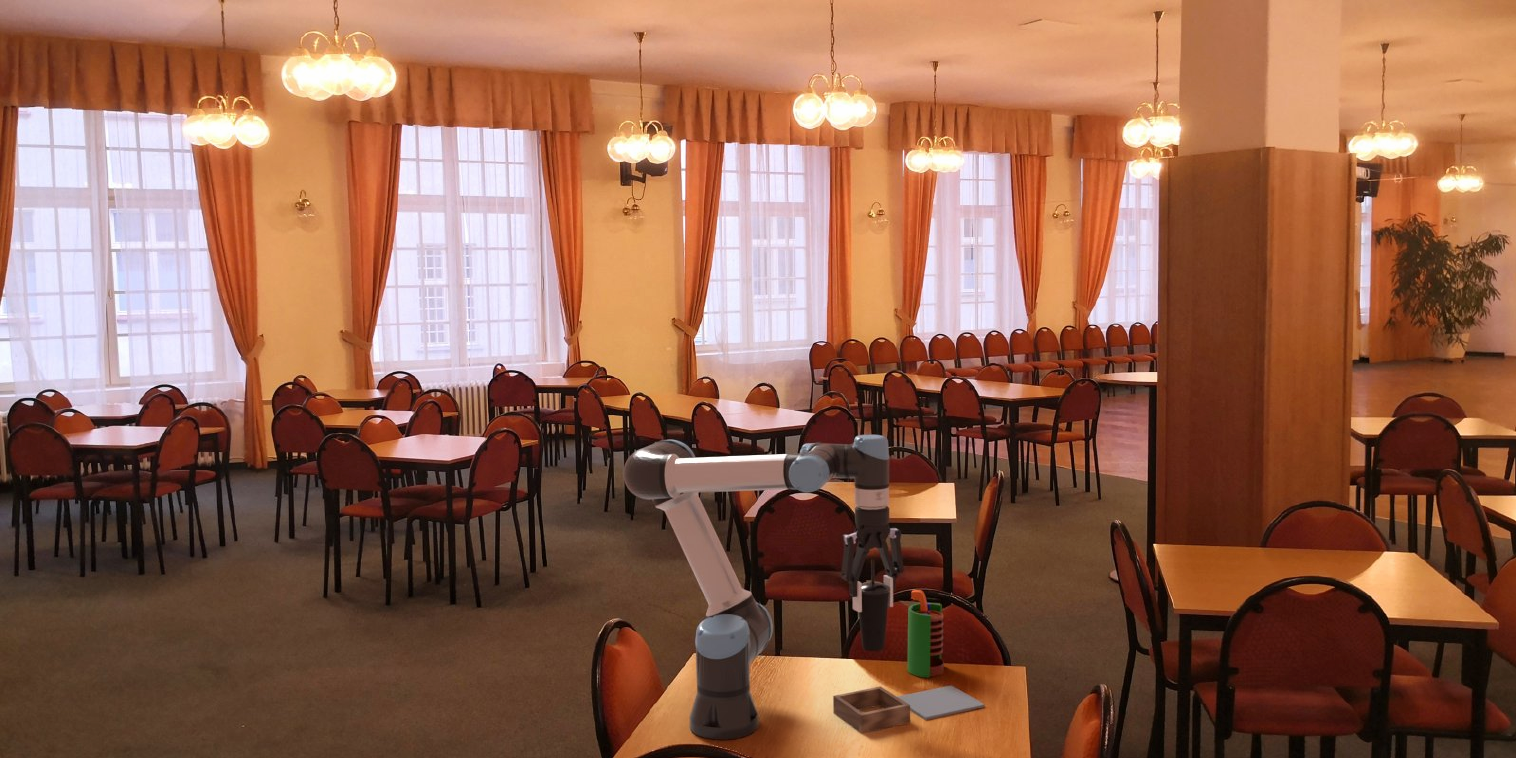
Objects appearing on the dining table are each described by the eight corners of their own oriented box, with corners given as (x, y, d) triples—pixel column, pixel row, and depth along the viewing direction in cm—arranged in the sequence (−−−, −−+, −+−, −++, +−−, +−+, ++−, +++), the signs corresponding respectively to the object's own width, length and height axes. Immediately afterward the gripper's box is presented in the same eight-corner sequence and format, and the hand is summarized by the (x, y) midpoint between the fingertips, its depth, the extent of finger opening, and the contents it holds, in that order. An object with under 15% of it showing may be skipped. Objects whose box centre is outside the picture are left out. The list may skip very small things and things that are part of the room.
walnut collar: (861, 733, 241) (861, 715, 240) (833, 713, 252) (833, 695, 252) (910, 722, 246) (910, 705, 246) (880, 703, 257) (880, 686, 257)
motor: (943, 678, 272) (943, 598, 270) (906, 676, 273) (905, 597, 271) (944, 664, 282) (944, 586, 280) (908, 662, 283) (908, 585, 281)
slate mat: (925, 720, 247) (925, 717, 247) (894, 699, 259) (894, 697, 259) (984, 706, 254) (984, 704, 254) (951, 687, 266) (951, 685, 266)
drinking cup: (852, 651, 245) (851, 562, 243) (859, 640, 252) (859, 554, 250) (887, 655, 243) (886, 565, 241) (893, 643, 250) (893, 556, 248)
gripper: (840, 514, 237) (841, 619, 239) (920, 504, 245) (920, 605, 247) (823, 507, 244) (824, 609, 246) (902, 498, 252) (902, 597, 254)
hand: (872, 607), depth 247 cm, fingers closed on drinking cup, 7 cm apart
